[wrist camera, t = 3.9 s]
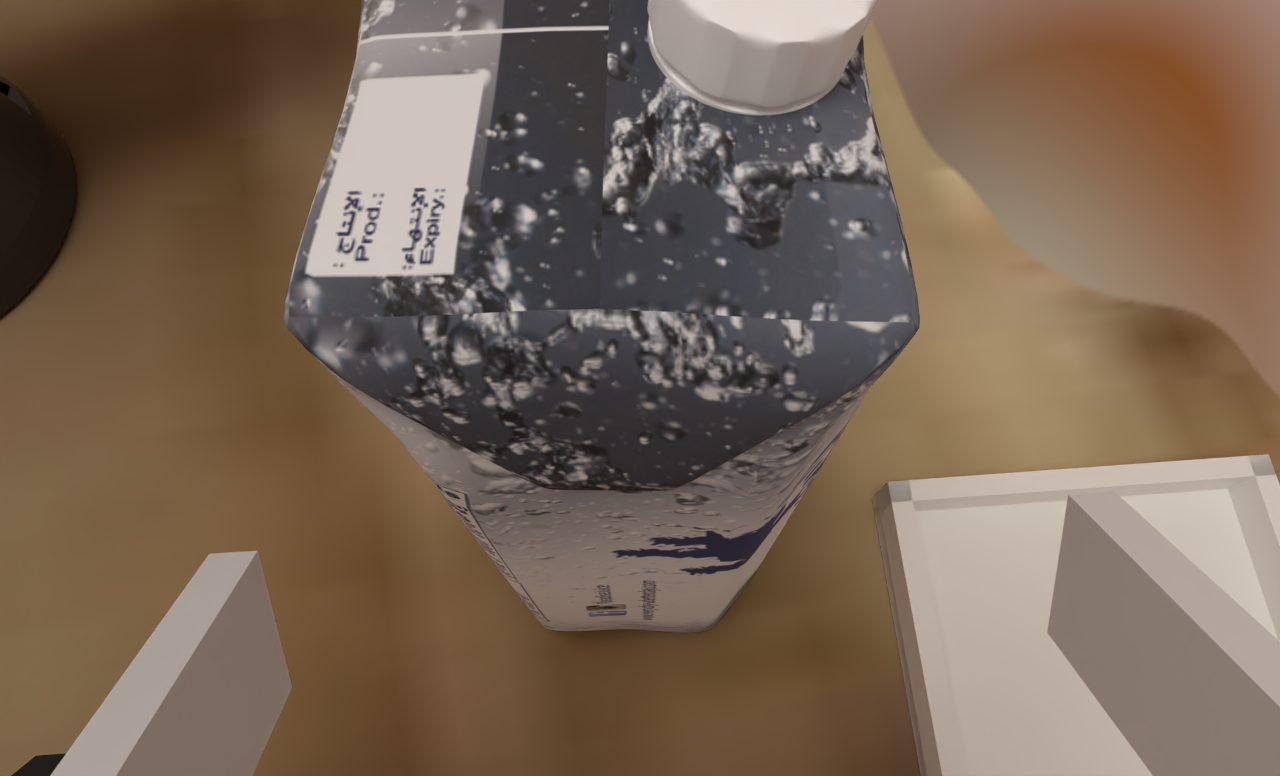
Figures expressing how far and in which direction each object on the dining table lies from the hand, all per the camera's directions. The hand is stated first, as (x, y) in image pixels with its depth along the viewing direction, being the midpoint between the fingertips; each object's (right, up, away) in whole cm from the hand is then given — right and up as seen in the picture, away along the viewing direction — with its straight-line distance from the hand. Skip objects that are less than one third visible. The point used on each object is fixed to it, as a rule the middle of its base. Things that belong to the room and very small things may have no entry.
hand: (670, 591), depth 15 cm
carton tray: (+17, -8, +18) cm, 26 cm away
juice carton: (-1, -2, +21) cm, 21 cm away
